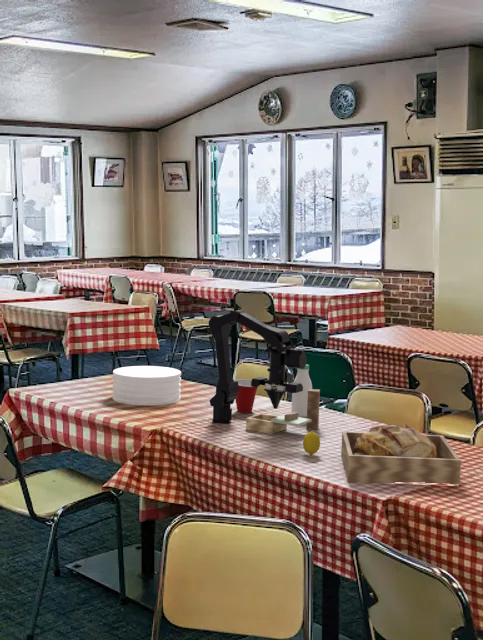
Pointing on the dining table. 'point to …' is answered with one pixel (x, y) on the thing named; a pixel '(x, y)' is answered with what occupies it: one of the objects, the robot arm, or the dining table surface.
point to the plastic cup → (245, 396)
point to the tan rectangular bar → (313, 408)
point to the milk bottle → (301, 397)
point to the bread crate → (400, 464)
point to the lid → (291, 419)
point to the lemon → (311, 443)
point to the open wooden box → (264, 424)
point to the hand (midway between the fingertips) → (275, 408)
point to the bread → (395, 443)
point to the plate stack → (146, 385)
